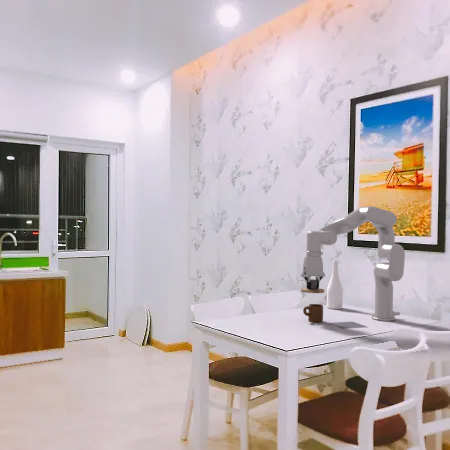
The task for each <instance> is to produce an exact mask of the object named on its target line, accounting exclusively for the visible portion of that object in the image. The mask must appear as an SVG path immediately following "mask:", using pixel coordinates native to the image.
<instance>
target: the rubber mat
mask: <svg viewBox="0 0 450 450" xmlns="http://www.w3.org/2000/svg"><path fill="white" fill-rule="evenodd" d="M328 324H329V325H332V326H333V327H337V328H339V329H344V330H345V329H359V328H363V329H364V328H368V326H367V325H363V324H360V323H358V322H355V321H343V322H342V321H341V322H340V321H339V322H328Z"/></svg>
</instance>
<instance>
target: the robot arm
mask: <svg viewBox="0 0 450 450" xmlns="http://www.w3.org/2000/svg"><path fill="white" fill-rule="evenodd" d="M365 223H371V224H372V226H373V227H375V229H376V231H377V234H378V246H377V256H378V258H379V259H381V260H382V261H383V260H384V261H388V262H382V261H381V262H378V263H377V264H375V266H374V269H373V276H374V283H375V285H374V286H375V287H374V290H375V291H374V314H373V315H371V319H372V320H376V321H382V322H383V321H384V322H391V321H393V320H394V321H396V317H395V316H400V315H401V313H400V312H399V311H394V310H393V309H394V308H393V307H394V306H393V305H394V304H393V303H394V284H393V282H399V281H400V280H402V278H403V276H404V273H405V272H404V271H405V258H406V257H405V256H406V255H405V254H406V253H405V250H404V247H403V246H402V245H400V244H398V243H395V236H396V235H395V231H394V230H395V229H394V228H393V226H395V225H396V223H397V216H396V214H395V213H394V212H392V211H389V210H386V209H382V208H379V207H375V206H371V205H370V206H360V207H358V208H356V209H354V210H353V211H352V212H350V213H348V214H347V215H345V216H344V217H342V218H340V219H338V220H336V221H334V222H333V221H332V222H330V223H329V224H327V225H325V226H324V227H322V228H320V229H319V230H308V231H307V233H306V255H305V256H304V260H303V265H302V273H301V274H300V277H302V278H303V279H304V280H305V282H306V286H305V288H307V289H309V290H310V289H311V282H310V279H312V278H311V277H314V278H315V280H317V289H319V288H320V282H321V280H322V279H324V277H326V274H325V271H324V263H323V257H322V256H323V255H324V252H322V245H324V246H332V245H334V244H336V242H337V241H338V236H339V235H342V234H348V233H350V232H353V231H354V230H356V229H357V228H359V227H360V226H362V225H363V224H365ZM394 321H393V322H394Z"/></svg>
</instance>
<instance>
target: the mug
mask: <svg viewBox="0 0 450 450" xmlns="http://www.w3.org/2000/svg"><path fill="white" fill-rule="evenodd" d="M302 311H303V314H304V315H305V316H307V319H308V320H307V321H308V322H309V323H315V324H316V323H317V324H318V323H319V324H320V323H323V322H324V305H323V304H319V303H310V304H308V306H304V307H303V309H302ZM307 311H308V312H307Z"/></svg>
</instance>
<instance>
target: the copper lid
mask: <svg viewBox="0 0 450 450" xmlns="http://www.w3.org/2000/svg"><path fill="white" fill-rule="evenodd" d="M310 282H311V289H310V290H309V289H307V287H302V288H300V290H301V292H302V293H306V294H307V293H308V294H322V293H325V289H324V288H320V287H319V289H317V280H316V279H312V278H311V279H310Z"/></svg>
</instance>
